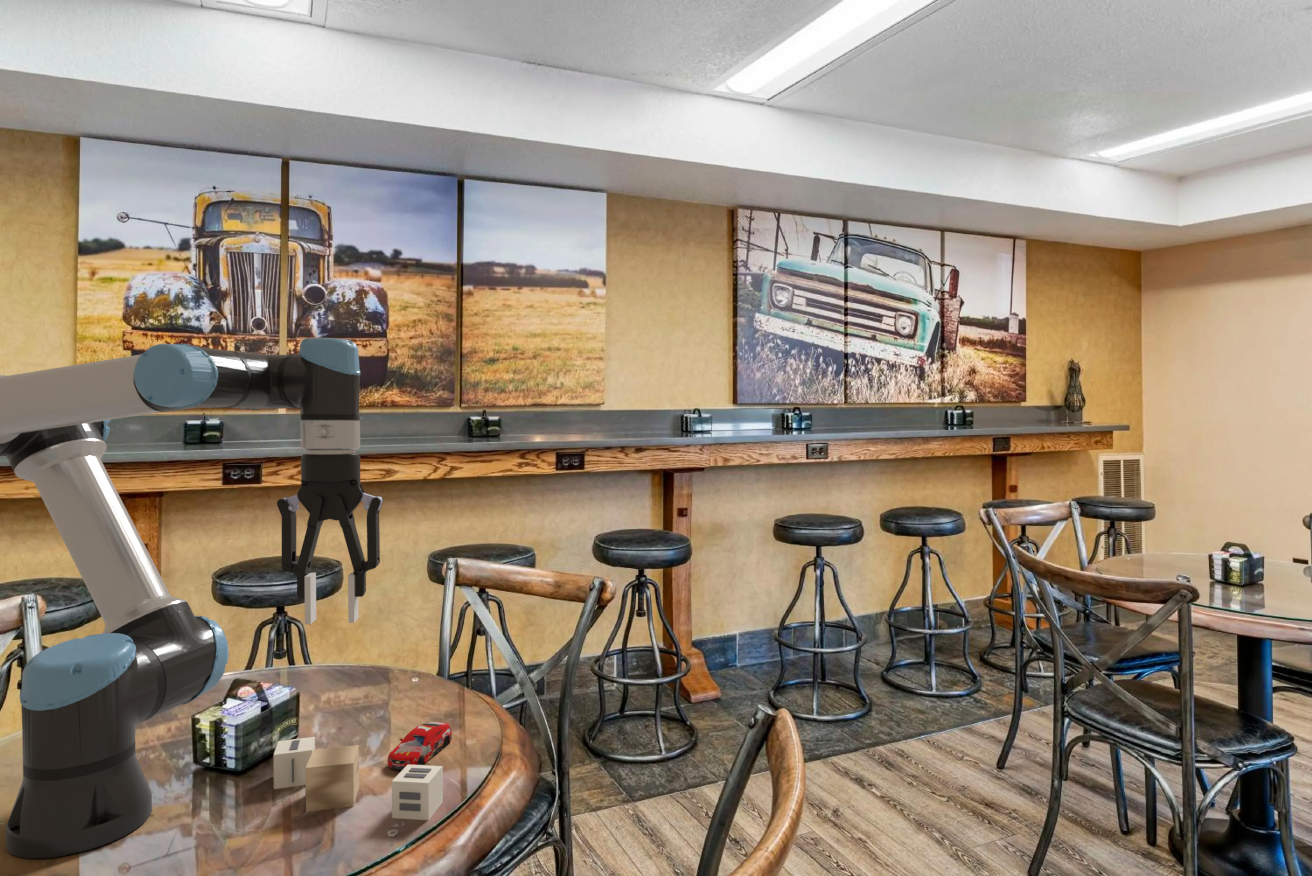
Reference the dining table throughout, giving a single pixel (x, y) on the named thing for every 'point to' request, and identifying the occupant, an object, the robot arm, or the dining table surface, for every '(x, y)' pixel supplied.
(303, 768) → the marked block
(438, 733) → the race car
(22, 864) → the dining table surface
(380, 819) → the dining table surface
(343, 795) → the plain block
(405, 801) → the marked block
